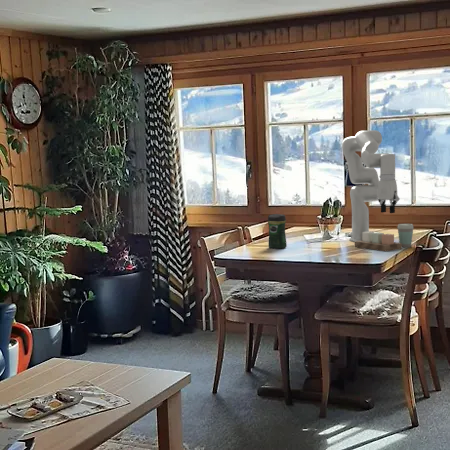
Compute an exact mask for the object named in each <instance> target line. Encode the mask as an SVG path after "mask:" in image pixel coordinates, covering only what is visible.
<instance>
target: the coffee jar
mask: <svg viewBox="0 0 450 450" xmlns="http://www.w3.org/2000/svg"><path fill="white" fill-rule="evenodd" d="M286 222H287V219H286V215H285V214H282V213H281V214H279V213H275V214H269V215H268V217H267V224H268V248H270V249H276V250H277V249H278V250H279V249H285V248H287V237H286Z"/></svg>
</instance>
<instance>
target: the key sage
mask: <svg viewBox="0 0 450 450" xmlns="http://www.w3.org/2000/svg"><path fill="white" fill-rule="evenodd" d="M382 234H385V233H383V232H374V233H372V243H382Z"/></svg>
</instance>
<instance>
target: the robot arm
mask: <svg viewBox="0 0 450 450" xmlns="http://www.w3.org/2000/svg"><path fill="white" fill-rule="evenodd" d="M382 142H383V136H382V134H381V132H380V131H379V130H374V129H371V130H360V131H358V132H357V133H356V134H355V136H348V137H345V138H344V139H343V141H342V146H341V147H342V153H343V156H344V158H345V160H346V164H347V170H348V176H349V180H350V182H351V183H352V184H354V185H355V186H353V187H351V188H350V191H349V197H350V202H351V232H349V233H348V234H347V236H349V239H348V240H349V241H351V242H355V241H361V240H362V232H368V231H369V232H370V228H369V227H370V218H369V217H370V216H369V215H370V211H369V207H368V206H367V204H366V203H367V202H369V203H371V202H378V203H379V205H380V213H387V204H386V201H389V204H390V205H389V214H395V213H396V205H397V203H398V202H399V201H400V197H399V195H398V184H397V180H396V156H395V153H387V152H386V153H385V152H384V153H380V152H379V153H377V151H378V150H379V146H380V145H381V144H382ZM357 152H360V155H359V153H357ZM376 168H377V169H380V170H379V173H380V174H378V171H377V169H376ZM379 178H380V180H379Z"/></svg>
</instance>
